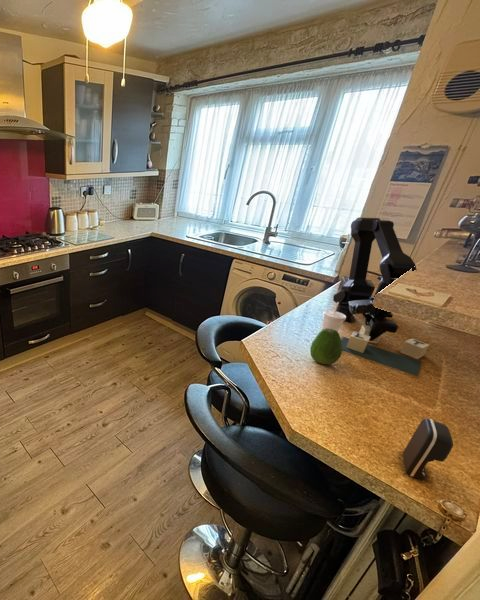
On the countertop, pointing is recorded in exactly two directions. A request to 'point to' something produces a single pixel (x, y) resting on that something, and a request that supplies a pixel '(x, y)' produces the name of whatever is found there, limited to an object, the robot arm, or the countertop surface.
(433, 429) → the battery charger
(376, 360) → the word mat
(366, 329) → the tile
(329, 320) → the smoothie
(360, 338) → the tile
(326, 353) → the avocado
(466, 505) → the countertop surface
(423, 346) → the tile
